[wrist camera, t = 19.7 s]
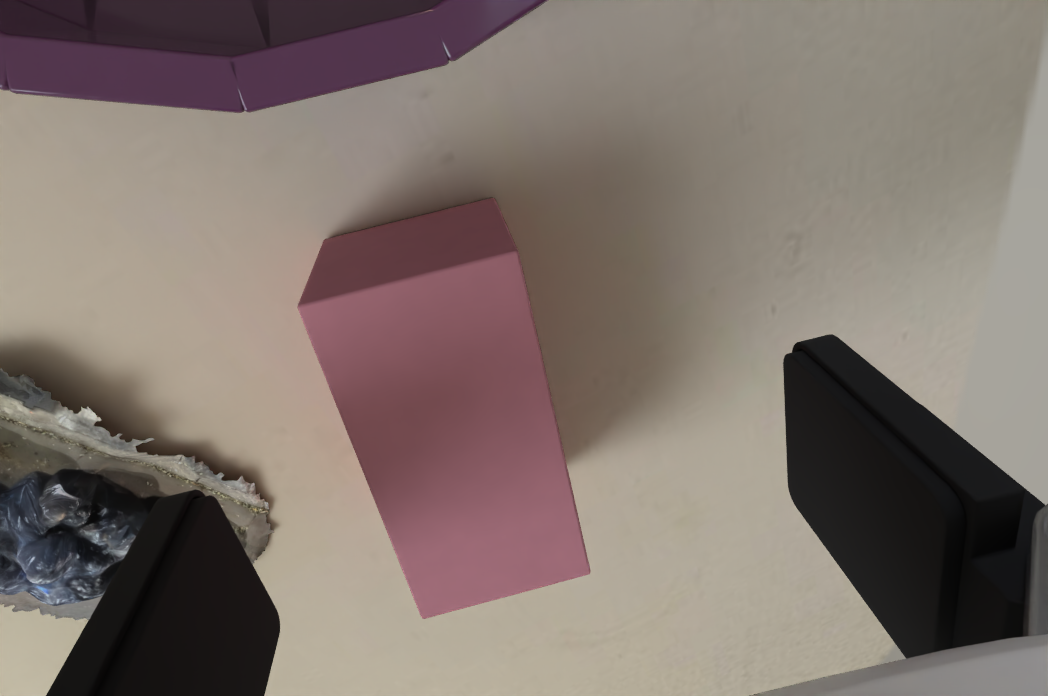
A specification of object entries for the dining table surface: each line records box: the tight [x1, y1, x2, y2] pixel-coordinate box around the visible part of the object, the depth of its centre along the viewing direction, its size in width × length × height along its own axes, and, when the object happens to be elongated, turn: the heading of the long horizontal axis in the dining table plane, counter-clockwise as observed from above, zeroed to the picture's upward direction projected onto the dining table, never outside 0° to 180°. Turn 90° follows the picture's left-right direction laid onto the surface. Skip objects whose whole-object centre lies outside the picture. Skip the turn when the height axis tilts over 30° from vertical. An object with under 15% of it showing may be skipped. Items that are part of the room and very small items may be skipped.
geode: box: [0, 368, 274, 620], centre depth 14 cm, size 7×8×2 cm
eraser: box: [298, 198, 590, 619], centre depth 14 cm, size 7×4×4 cm, turn 12°
